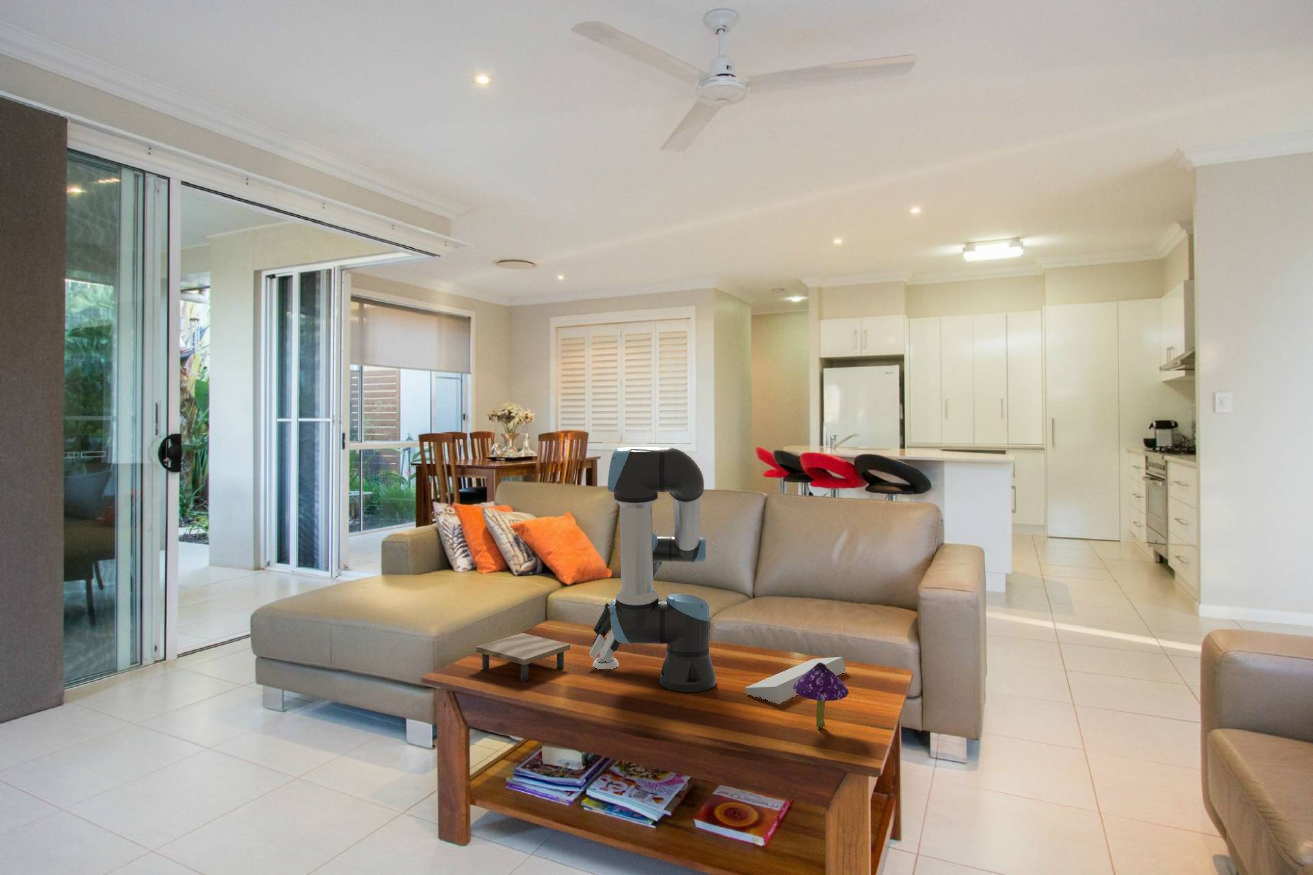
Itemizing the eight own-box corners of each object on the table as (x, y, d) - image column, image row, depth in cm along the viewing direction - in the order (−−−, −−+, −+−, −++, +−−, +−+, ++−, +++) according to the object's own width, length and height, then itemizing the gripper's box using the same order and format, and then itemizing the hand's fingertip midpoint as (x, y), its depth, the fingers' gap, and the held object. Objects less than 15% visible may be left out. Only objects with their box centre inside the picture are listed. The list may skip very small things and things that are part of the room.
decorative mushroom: (822, 744, 150) (822, 675, 150) (781, 725, 160) (781, 660, 160) (860, 731, 157) (860, 665, 157) (818, 713, 167) (819, 651, 167)
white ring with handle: (634, 643, 208) (627, 635, 202) (616, 681, 202) (608, 673, 197) (614, 634, 211) (606, 626, 206) (595, 671, 206) (586, 664, 201)
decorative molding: (748, 707, 179) (779, 706, 173) (744, 688, 180) (775, 686, 174) (816, 675, 204) (846, 674, 197) (812, 658, 205) (842, 656, 198)
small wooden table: (570, 666, 202) (570, 644, 202) (524, 683, 187) (524, 659, 187) (522, 654, 213) (522, 633, 213) (475, 669, 199) (475, 646, 199)
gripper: (662, 601, 210) (628, 670, 196) (617, 594, 220) (582, 659, 207) (651, 587, 206) (616, 656, 192) (606, 580, 216) (569, 645, 202)
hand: (598, 658), depth 199 cm, fingers open, 4 cm apart
